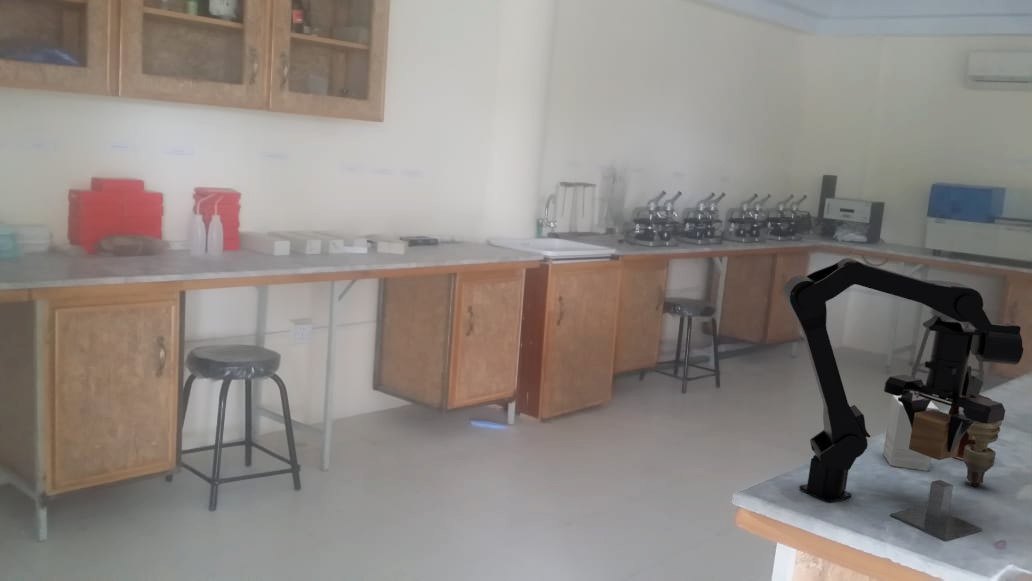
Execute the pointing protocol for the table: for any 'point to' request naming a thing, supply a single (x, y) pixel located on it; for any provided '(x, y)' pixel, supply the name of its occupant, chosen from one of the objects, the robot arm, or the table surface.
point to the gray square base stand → (937, 515)
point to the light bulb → (980, 450)
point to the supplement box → (902, 439)
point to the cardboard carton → (931, 434)
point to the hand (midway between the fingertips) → (934, 445)
